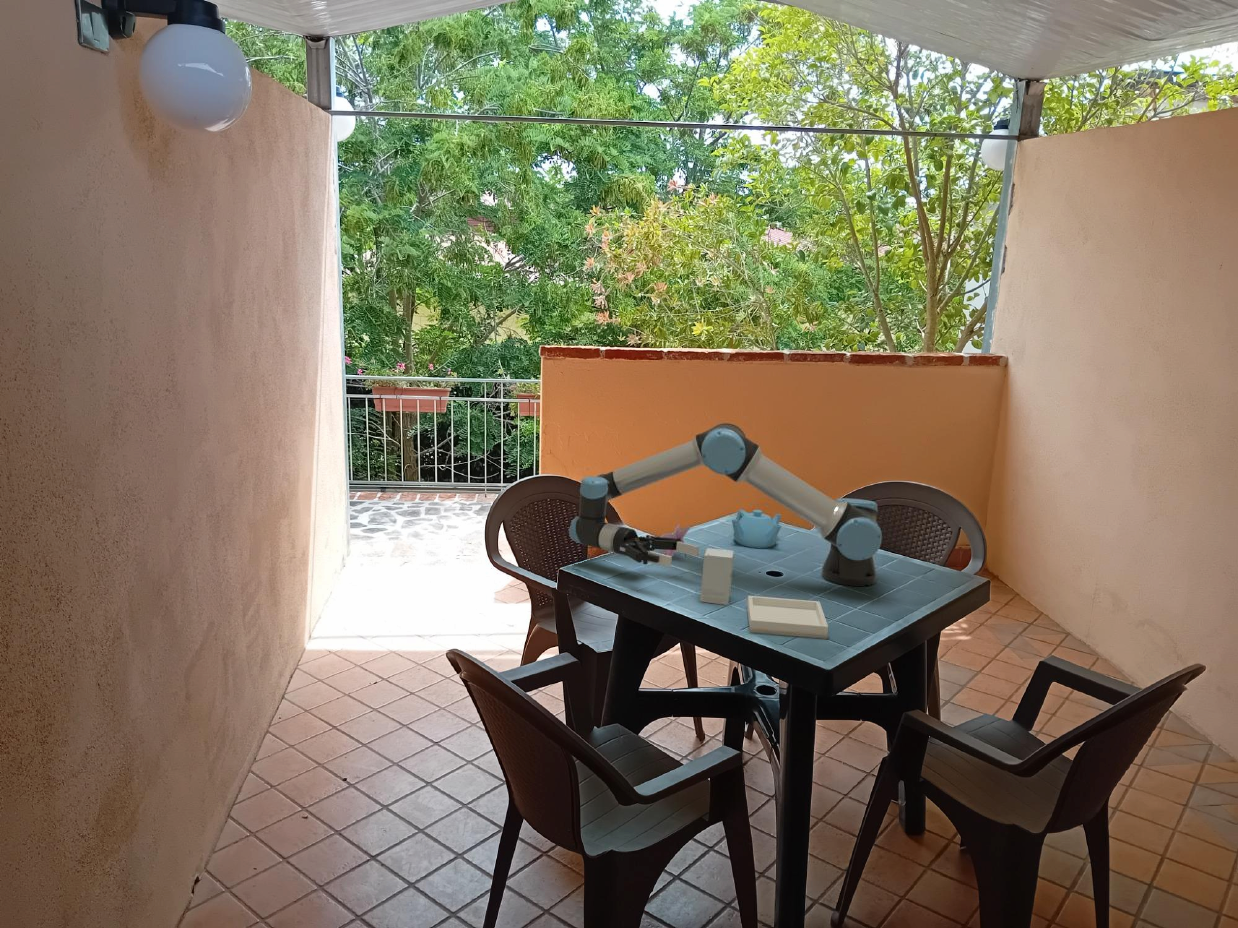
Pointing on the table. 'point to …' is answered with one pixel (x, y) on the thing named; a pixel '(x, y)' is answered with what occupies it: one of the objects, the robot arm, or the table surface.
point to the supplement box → (717, 576)
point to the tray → (786, 617)
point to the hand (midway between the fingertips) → (684, 556)
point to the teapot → (756, 529)
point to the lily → (676, 534)
